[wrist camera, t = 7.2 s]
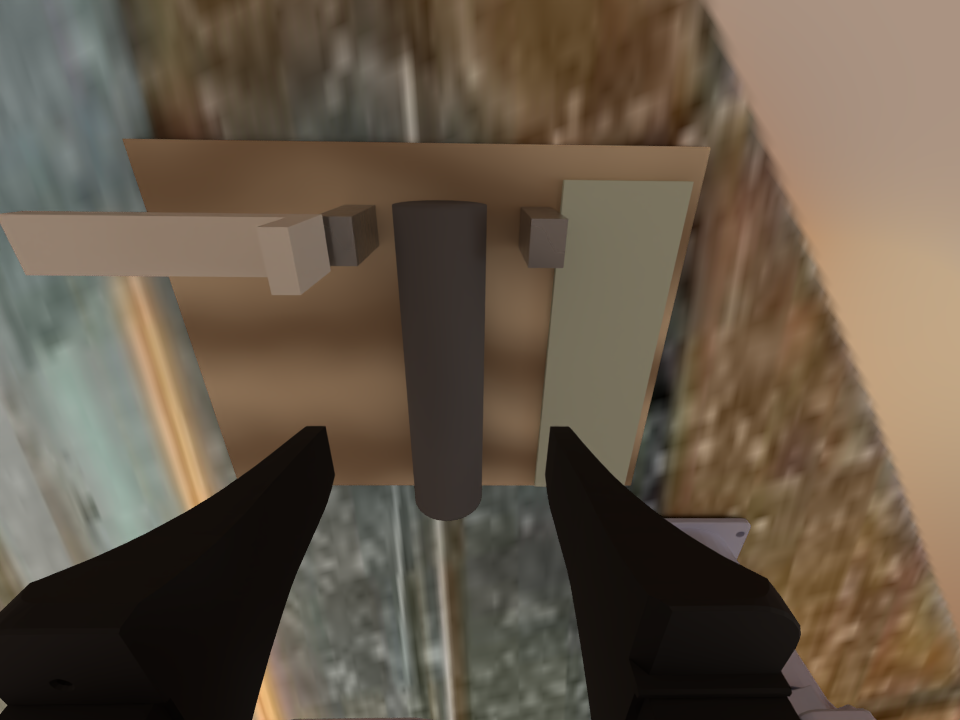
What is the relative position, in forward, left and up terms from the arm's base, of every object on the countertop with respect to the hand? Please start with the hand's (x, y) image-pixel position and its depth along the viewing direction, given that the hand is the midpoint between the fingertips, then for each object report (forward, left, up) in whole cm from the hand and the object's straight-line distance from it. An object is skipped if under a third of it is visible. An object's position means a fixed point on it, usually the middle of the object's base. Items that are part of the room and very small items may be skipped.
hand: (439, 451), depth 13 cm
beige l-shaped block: (+6, +8, -3) cm, 11 cm away
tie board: (0, +1, -7) cm, 7 cm away
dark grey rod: (0, 0, -7) cm, 7 cm away
